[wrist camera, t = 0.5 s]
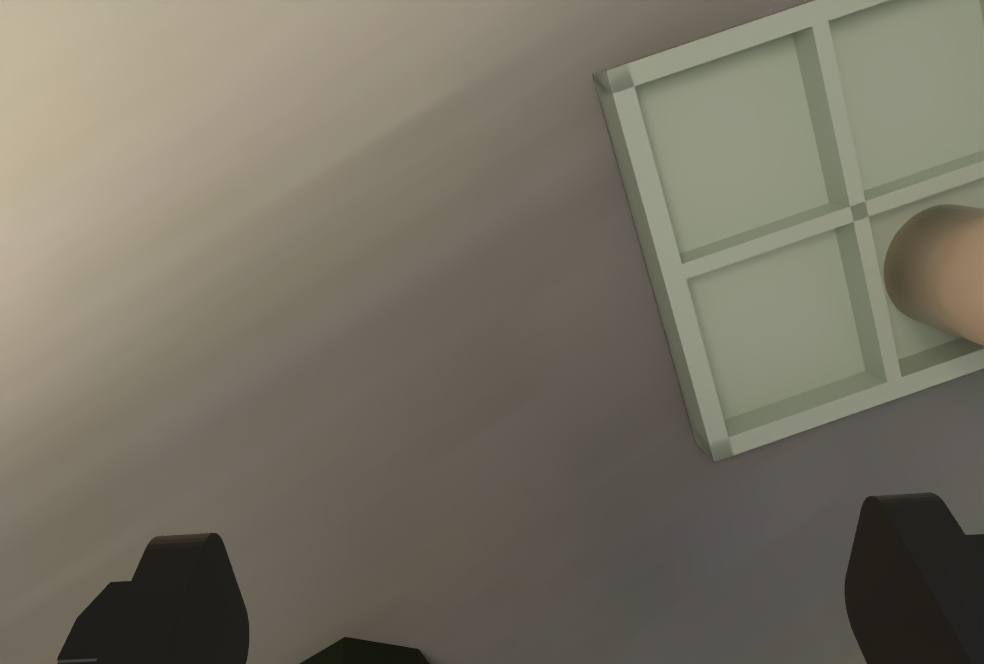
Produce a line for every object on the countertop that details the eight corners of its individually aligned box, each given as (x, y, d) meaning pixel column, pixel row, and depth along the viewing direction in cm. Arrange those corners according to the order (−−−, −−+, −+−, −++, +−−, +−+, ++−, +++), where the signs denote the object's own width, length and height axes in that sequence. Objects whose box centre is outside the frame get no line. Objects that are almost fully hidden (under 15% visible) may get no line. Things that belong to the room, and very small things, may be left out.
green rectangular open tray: (592, 74, 31) (606, 70, 29) (980, -57, 32) (1022, -70, 30) (695, 441, 35) (714, 462, 33) (1040, 322, 36) (1080, 334, 33)
